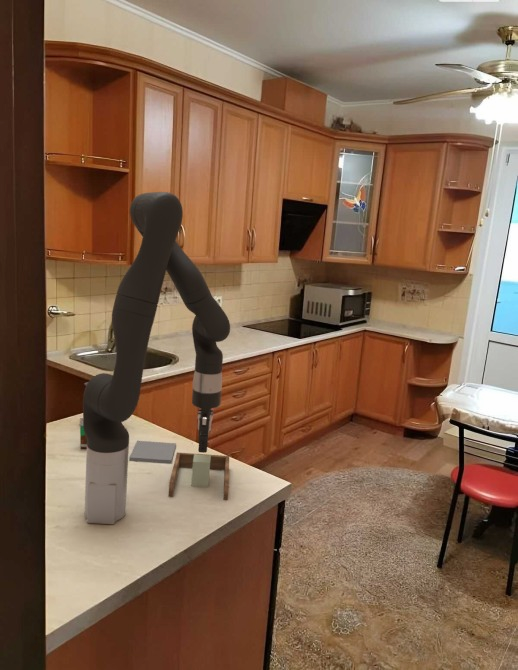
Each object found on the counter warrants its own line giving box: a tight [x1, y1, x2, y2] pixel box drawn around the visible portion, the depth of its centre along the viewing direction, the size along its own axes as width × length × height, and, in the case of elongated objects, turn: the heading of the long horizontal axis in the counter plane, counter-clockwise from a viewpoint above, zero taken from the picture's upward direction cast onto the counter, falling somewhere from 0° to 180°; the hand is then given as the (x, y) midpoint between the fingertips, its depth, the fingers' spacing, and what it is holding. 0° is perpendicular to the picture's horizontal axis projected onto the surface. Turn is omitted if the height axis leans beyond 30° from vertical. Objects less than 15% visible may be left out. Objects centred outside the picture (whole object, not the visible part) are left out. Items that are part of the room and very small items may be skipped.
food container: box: [79, 417, 87, 450], centre depth 156 cm, size 12×6×10 cm, turn 179°
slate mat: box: [128, 440, 177, 464], centre depth 154 cm, size 12×12×1 cm
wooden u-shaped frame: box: [167, 451, 230, 501], centre depth 139 cm, size 18×15×4 cm
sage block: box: [190, 453, 212, 488], centre depth 139 cm, size 4×4×7 cm
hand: (203, 444), depth 138 cm, fingers open, 8 cm apart
